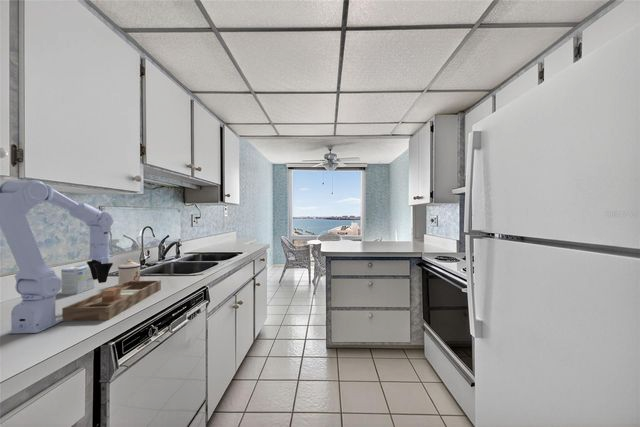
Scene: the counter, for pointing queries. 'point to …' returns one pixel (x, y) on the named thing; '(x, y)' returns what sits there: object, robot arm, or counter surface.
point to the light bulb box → (76, 279)
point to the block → (111, 294)
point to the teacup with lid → (128, 272)
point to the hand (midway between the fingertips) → (99, 280)
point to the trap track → (107, 310)
